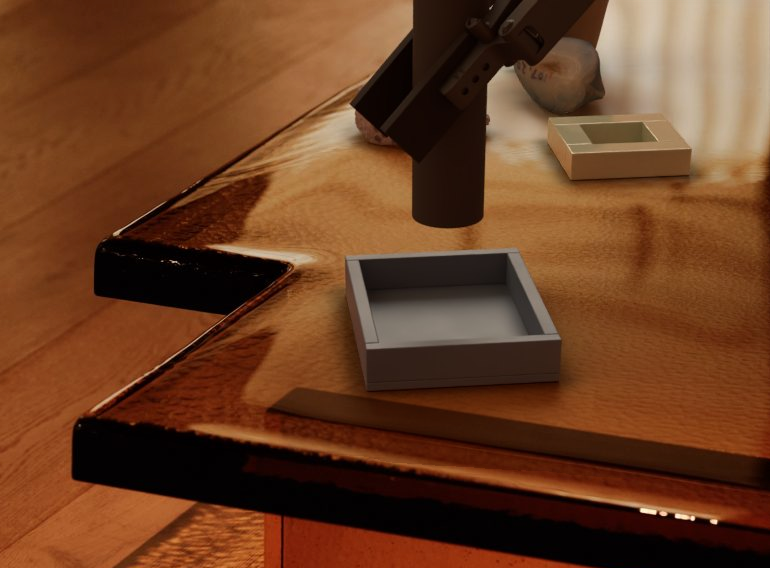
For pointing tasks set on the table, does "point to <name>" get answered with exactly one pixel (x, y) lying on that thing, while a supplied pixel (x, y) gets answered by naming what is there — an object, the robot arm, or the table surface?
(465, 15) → the dark brown tall cylinder
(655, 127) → the beige square tray
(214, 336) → the table surface
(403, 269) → the grey tray
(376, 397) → the table surface
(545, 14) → the robot arm
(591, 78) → the seashell
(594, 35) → the flower pot
